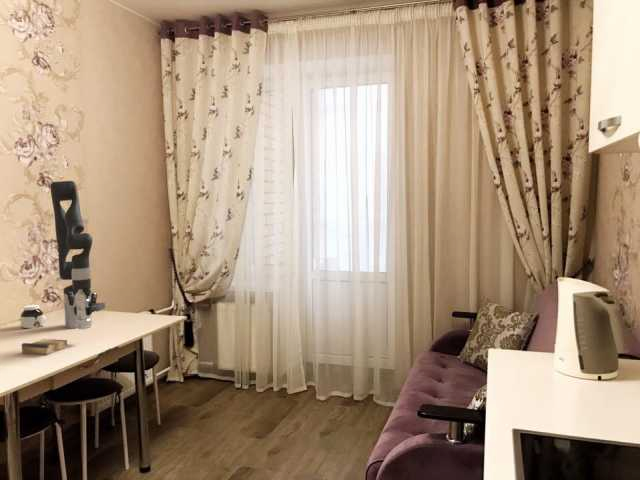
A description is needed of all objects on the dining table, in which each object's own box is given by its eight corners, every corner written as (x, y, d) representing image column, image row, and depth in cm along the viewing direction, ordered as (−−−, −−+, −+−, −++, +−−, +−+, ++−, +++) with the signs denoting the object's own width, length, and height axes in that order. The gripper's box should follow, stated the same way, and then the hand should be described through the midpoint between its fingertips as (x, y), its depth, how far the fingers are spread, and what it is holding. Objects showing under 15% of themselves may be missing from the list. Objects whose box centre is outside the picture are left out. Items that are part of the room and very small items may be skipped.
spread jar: (23, 331, 247) (21, 308, 246) (18, 327, 256) (17, 305, 255) (49, 327, 255) (48, 305, 254) (44, 323, 263) (43, 302, 263)
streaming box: (106, 310, 299) (106, 302, 298) (98, 314, 286) (98, 306, 286) (84, 310, 298) (84, 303, 297) (75, 315, 285) (75, 307, 285)
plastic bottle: (95, 327, 227) (93, 284, 225) (84, 331, 220) (81, 286, 219) (84, 326, 229) (82, 283, 227) (72, 330, 222) (70, 286, 221)
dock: (43, 345, 221) (43, 336, 220) (67, 346, 218) (66, 337, 218) (22, 353, 209) (21, 343, 209) (46, 355, 206) (46, 345, 206)
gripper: (100, 276, 225) (102, 313, 226) (72, 276, 228) (74, 312, 229) (90, 279, 217) (91, 317, 219) (61, 278, 220) (63, 316, 222)
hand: (83, 314), depth 224 cm, fingers closed on plastic bottle, 5 cm apart
